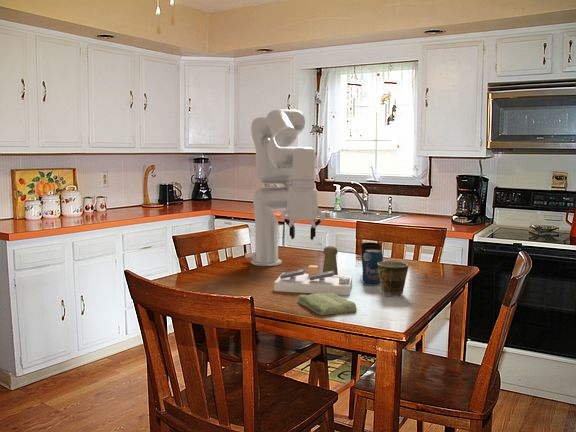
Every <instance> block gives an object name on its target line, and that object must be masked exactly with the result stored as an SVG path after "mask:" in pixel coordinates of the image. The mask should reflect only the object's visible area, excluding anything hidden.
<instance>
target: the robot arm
mask: <svg viewBox="0 0 576 432" xmlns="http://www.w3.org/2000/svg"><path fill="white" fill-rule="evenodd" d="M305 126H306V119H305V115H304V114H303V112H302V111H300V110H298V109H286V108H285V109H279V108H277V109H273V110H270V112H268V113H267V115H266V116H258V117H255V118H254V119H253V120H252V121H251V126H250V133H251V138H252V141H253V144H254V149H255V173H256V174H255V175H256V180H257V182H258V183H260V184H263V185H264V184H265V185H266V184H267V185H273V184H274V185H282V186H281V187H280V186H279V187H277V186H271V187H270V186H267V187H265V186H264V187H258V188H257V189H255V190H254V191H253V193H252V201H253V203H252V204H253V208H254V209H253V211H254V251H253V252H251V253H250V252H245V253H244V254H245V255H244V257H245V258H246V259H251V265H254V266H256V267H257V266H259V267H275V266H279V265H282V261H283V260H282V259H281V258H280V259H279V220H278V218H277V216H276V215H275V214H274V211H283V212H281V213H280V215H279V217H280V219H282V220H283V222H284V223H285V224H286V225H287V226H288V228H289V237H291V238H290V239H291V240H294V239H295V237H296V235H295V234H296V227H295V222H296V220H305V221H307V220H308V221H310V225H311V227H310V238H309V239H310V240H311V241H314V238H315V237H316V233H317V232H316V230H317V229H316V227H318V226H319V224H321V223H322V222H323V221H324V220H325V219H326V217H327V216H326V214H325V213H323V211H322V210H321V209H320V208H319V201H318V192H317V188H316V189H315V183H316V182H315V171H316V170H315V168H316V166H315V165H316V151H315V149H314V148H312V147H305V146H292V145H293V144H294V143H295V141H296V140H297V136H298V135H299V134H301V133H302V132H303V130H304V129H305ZM318 217H319V218H318ZM317 218H318V219H317ZM316 219H317V220H316Z"/></svg>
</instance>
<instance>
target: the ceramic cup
mask: <svg viewBox="0 0 576 432" xmlns="http://www.w3.org/2000/svg"><path fill="white" fill-rule="evenodd" d="M408 270H409V264H408V263H406V262H403V261H397V260H396V261H395V260H385V261H384V260H383V262H379V263H378V273H379V277H380V285H379V286H380V291H381V294H383V296H386V297H387V296H388V297H399V296H401V295H403V293H404V288H405V284H406V279H407V277H408V276H407V275H408Z"/></svg>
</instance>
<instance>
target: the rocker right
mask: <svg viewBox="0 0 576 432" xmlns="http://www.w3.org/2000/svg"><path fill="white" fill-rule="evenodd" d="M331 276H334V271H329V272H324V273H322V272H318V274H313V275H311V276H310V280H315V279H320V278H326V277H331Z"/></svg>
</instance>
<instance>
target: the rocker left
mask: <svg viewBox="0 0 576 432" xmlns="http://www.w3.org/2000/svg"><path fill="white" fill-rule="evenodd" d="M282 273H283V274H282ZM282 273H281V274H280V275H281V276H280V275H279V276H280V278H281V279H283V278H289V277H294V276H299V275H304V274H306V269H304V268H303V269H298V270H293V271H288V272H282Z"/></svg>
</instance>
